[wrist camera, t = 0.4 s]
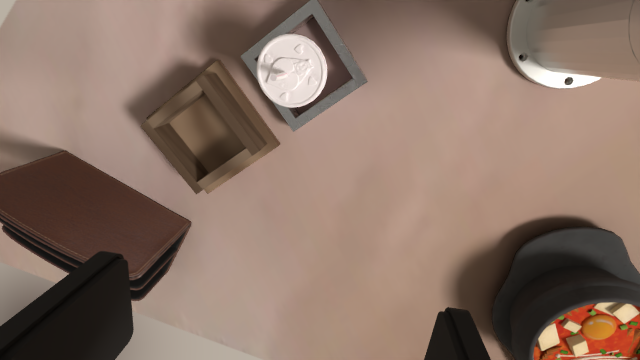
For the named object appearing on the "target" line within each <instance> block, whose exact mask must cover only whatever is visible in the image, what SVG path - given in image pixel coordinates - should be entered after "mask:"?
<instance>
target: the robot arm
mask: <svg viewBox="0 0 640 360" xmlns="http://www.w3.org/2000/svg"><path fill="white" fill-rule="evenodd" d="M507 46H508V51H509V55H510V57H511V59H512V62H513V64H514V65H515V67H516V68H517V69H518V71H519V72H520V73H521V74H522V75H523V76H525V77H526V78H527V79H528V80H530V81H532V82H534V83H536V84H538V85H541V86H545V87H549V88H556V89H571V88H576V87H581V86H585V85H587V84H590V83H593V82H595V81H597V80H599V79H601V78H610V79H620V80H630V81H639V82H640V0H528V1H527V2H526V1H525V0H516V2H515V4H514V6H513V8H512V11H511V14H510V16H509V21H508V26H507ZM519 55H522V58H521V59H520V60H519ZM565 79H566V82H565V83H564V81H565ZM132 334H133V318H132V305H131V293H130V281H129V268H128V262H127V260H125V259H124V257H123V255H122V254H119V253H113V252H107V251H99V252H98V253H96V254H95V255H93V256H92V257H91V258H90V259H88V260H87V261H86V262H84V263H83V264H82V265H80V266H79V267H78V268H76V269H75V270H74V271H72V272H71V273H70V274H69V275H67V276H66V277H65V278H63V279H62V280H61V281H59V282H58V283H57V284H55V285H54V286H53V287H51V288H50V289H49V290H48V291H46V292H45V293H44V294H42V295H41V296H40V297H38V298H37V299H36V300H34V301H33V302H32V303H30V304H29V305H28V306H27V307H25V308H24V309H23V310H21V311H20V312H19V313H17V314H16V315H15V316H13V317H12V318H11V319H9V320H8V321H7V322H6V323H4V324H3V325H2V326H0V360H115V359H116V358H117V356H118V355H119V354H120V353H121V351H122V350H123V349H124V348H125V346H126V345H127V344H128V342H129V341H130V339H131V337H132ZM424 360H491V359H490V357H489V355H488V352H487V350H486V348H485V346H484V344H483V341H482V339H481V337H480V335H479V332H478V330H477V328H476V326H475V323H474V321H473V319H472V317H471V314H470V313H469V311H467V310H462V309H456V308H449V307H448V308H446V309H445V311H444V312H442V311H440V312H439V313H438V315H437V319H436V322H435V325H434V329H433V332H432V335H431V339H430V342H429V345H428V349H427V352H426V355H425V359H424Z"/></svg>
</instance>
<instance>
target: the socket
mask: <svg viewBox="0 0 640 360" xmlns="http://www.w3.org/2000/svg"><path fill="white" fill-rule="evenodd" d="M141 127H142V129H143V130H144V131H145V132H146V133H147V135H148V136H149V137H150V138H151V140H152V141H153V142H154V143H155V144H156V146H157V147H158V148H159V149H160V150H161V152H162V153H163V154H164V155H165V157H166V158H167V159H168V160H169V161H170V163H171V164H172V165H173V166H174V168H175V169H176V170H177V171H178V172H179V174H180V175H181V176H182V177H183V179H184V180H185V181H186V182H187V183H188V185H189V186H190V187H191V188H192V190H193V191H194V192H195V193H196V194H197V193H199V192H200V191H202V190H203V189H204V190H205V191H206V192H207V194H208V193H210V192H211V191H212V190H214V189H215V188H217V187H218V186H220V185H221V184H223V183H224V182H226V181H227V180H229V179H230V178H232V177H233V176H235V175H236V174H238V173H239V172H241V171H242V170H244V169H245V168H247V167H248V166H249V165H251V164H252V163H254V162H255V161H257V160H258V159H260V158H261V157H263V156H264V155H266V154H267V153H269V152H270V151H272V150H273V149H275V148H276V147H278V146H279V145H280V142H279V141H278V140H277V138H276V137H275V136H274V134H273V133H272V131H271V130H270V129H269V127H268V126H267V124H266V123H265V122H264V120H263V119H262V118H261V116H260V115H259V113H258V112H257V111H256V109H255V108H254V106H253V105H252V104H251V102H250V101H249V99H248V98H247V97H246V95H245V94H244V93H243V91H242V90H241V88H240V87H239V86H238V84H237V83H236V81H235V80H234V79H233V77H232V76H231V75H230V73H229V72H228V70H227V69H226V68H225V66H224V65H223V63H222V62H221V61H220V60H217V61H216V62H214V63H213V64H212V65H211V66H209V67H208V68H207V69H206V70H205V71H203V72H202V73H201V74H200V75H198V76H197V77H196V78H195V79H194V80H192V81H191V82H190V83H189V84H187V85H186V86H185V87H184V88H183V89H181V90H180V91H179V92H178V93H176V94H175V95H174V96H173V97H172V98H170V99H169V100H168V101H167V102H165V103H164V104H163V105H162V106H161V107H159V108H158V109H157V110H156V111H154V112H153V113H152V114H151V115H149V116H148V117H147V121H146V122H145V123H143V124H142V125H141Z"/></svg>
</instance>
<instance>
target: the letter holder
mask: <svg viewBox="0 0 640 360" xmlns="http://www.w3.org/2000/svg"><path fill="white" fill-rule="evenodd" d="M0 222H1V223H2V224H3V226H2V230H3V232H5V233H6V234H7V235H8V236H9V237H10V238H11V239H12V240H14V241H15V242H17V243H18V244H20V245H21V246H23V247H24V248H26V249H28V250H29V251H31V252H32V253H34V254H36V255H37V256H39V257H40V258H42V259H44V260H45V261H47V262H49V263H51V264H52V265H54V266H56V267H58V268H60V269H62V270H63V271H65V272H67V273H69V274H70V273H71V272H72V271H74V270H75V269H76V268H78V267H79V266H80V265H82V264H83V263H84V262H86V261H87V260H88V259H90V258H91V257H92V256H93V255H95V254H96V253H98V252H99V251H107V252H113V253H119V254H122V255H123V257H124V259H125V260H127V262H128V268H129V281H130V293H131V300H132V301H139V300H142V299H143V298H144V297H145V296H146V295H147V294H148V293H149V292H150V291H151V289H152V288H153V287H154V286H155V285H156V284H157V283H158V282H159V281H160V279H161V278H162V277H163V276H164V275H165V274H166V273H167V272H168V271H169V268H170V267H171V265H172V262H173V260H174V258H175V257H176V254H177V252H178V250H179V249H180V247H181V245H182V243H183V241H184V239H185V237H186V235H187V233H188V231H189V229H190V226H191V221H189V220H187V219H185V218H183V217H181V216H179V215H177V214H176V213H174V212H172V211H170V210H168V209H167V208H165V207H163V206H161V205H160V204H158V203H156V202H154V201H153V200H151V199H149V198H148V197H146V196H144V195H142V194H141V193H139V192H137V191H135V190H134V189H132V188H130V187H128V186H127V185H125V184H123V183H121V182H120V181H118V180H116V179H114V178H113V177H111V176H109V175H107V174H105V173H104V172H102V171H100V170H98V169H97V168H95V167H93V166H91V165H90V164H88V163H86V162H84V161H83V160H81V159H79V158H77V157H76V156H74V155H72V154H70V153H69V152H67V151H62V152H59V153H57V154H54V155H51V156H48V157H45V158H42V159H39V160H36V161H33V162H30V163H28V164H25V165H22V166H19V167H16V168H13V169H10V170H6V171H4V172H1V173H0Z"/></svg>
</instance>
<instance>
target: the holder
mask: <svg viewBox="0 0 640 360" xmlns="http://www.w3.org/2000/svg"><path fill="white" fill-rule="evenodd" d="M313 17H315V19H316V20H317V22H318V24H319V25H320V27H321V28H322V30H323V31H324V33H325V35H326V36H327V38H328V39H329V41H330V43H331V44H332V46H333V47H334V49H335V50H336V52H337V54H338V55H339V57H340V58H341V60H342V62H343V63H344V65H345V66H346V68H347V69H348V71H349V73H350V74H351V76H352V77H353V78H352V79H351V80H349V81H348V82H346V83H345V84H343V85H342V86H340V87H339V88H338V89H336V90H335V91H333V92H332V93H330V94H329V95H327V96H326V97H325V98H323V99H322V100H320V101H319V102H317V103H316V104H314V105H313V106H312V107H310V108H309V109H307V110H306V111H304V112H303V113H301V114H300V115H299V114H298V112H297V111H296V109H295V108H294V107H293V108H291V107H284V106H281V105H279V104H276V103H275V102H273V101H272V100H271V101H272V102H273V103H274V105H275V106H276V108H277V109H278V110H279V112H280V113H281V115H282V116H283V118H284V119H285V120H286V122H287V123H288V125H289V126H290V128H291V129H292V130H293V132H294V131H295V130H297V129H298V128H300V127H301V126H303V125H304V124H306V123H307V122H309V121H310V120H312V119H313V118H315V117H316V116H317V115H319V114H320V113H322V112H323V111H325V110H326V109H328V108H329V107H331V106H332V105H334V104H335V103H337V102H338V101H340V100H341V99H343V98H344V97H345V96H347V95H348V94H350V93H351V92H353V91H354V90H356V89H357V88H359V87H360V86H362V85H363V84H365V83H366V82H368V81H367V79H366V77H365V75H364V74H363V72H362V71H361V69H360V67H359V66H358V64H357V63H356V61H355V59H354V58H353V56H352V55H351V53H350V51H349V50H348V48H347V46H346V45H345V43H344V42H343V40H342V38H341V37H340V35H339V34H338V32H337V30H336V29H335V27H334V26H333V24H332V22H331V21H330V19H329V18H328V16H327V14H326V13H325V11H324V9H323V8H322V6H321V5H320V3H319V1H318V0H310V1H309V2H307V3H306V4H305V5H304V6H302V7H301V8H300V9H299V10H297V11H296V12H295V13H294V14H292V15H291V16H290V17H289V18H287V19H286V20H285V21H284V22H282V23H281V24H280V25H279V26H277V27H276V28H275V29H274V30H272V31H271V32H270V33H269V34H267V35H266V36H265V37H264V38H262V39H261V40H260V41H259V42H257V43H256V44H255V45H254V46H252V47H251V48H250V49H249V50H247V51H246V52H245V53H244V54H242V55H241V58H242V59H243V61H244V62H245V64H246V65H247V66H248V68H249V69H250V71H251V72H252V74H253V75H254V76H255V78H256V79H257V81H258V78H257V61H258V58H259V55H260V53H261V51H262V49H263V48H264V47H265V45H266V44H267V43H268V42H269V41H271V40H272V39H274V38H276V37H278V36H281V35H285V34H293V33H294V32H295V31H296V30H298V29H299V28H300V27H302V26H303V25H304V24H305V23H307V22H308V21H309V20H310V19H312V18H313Z"/></svg>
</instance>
